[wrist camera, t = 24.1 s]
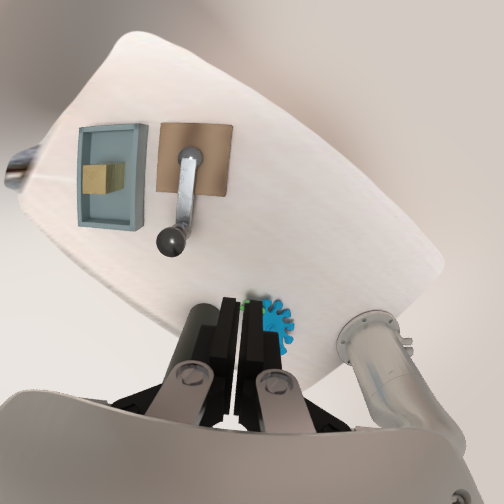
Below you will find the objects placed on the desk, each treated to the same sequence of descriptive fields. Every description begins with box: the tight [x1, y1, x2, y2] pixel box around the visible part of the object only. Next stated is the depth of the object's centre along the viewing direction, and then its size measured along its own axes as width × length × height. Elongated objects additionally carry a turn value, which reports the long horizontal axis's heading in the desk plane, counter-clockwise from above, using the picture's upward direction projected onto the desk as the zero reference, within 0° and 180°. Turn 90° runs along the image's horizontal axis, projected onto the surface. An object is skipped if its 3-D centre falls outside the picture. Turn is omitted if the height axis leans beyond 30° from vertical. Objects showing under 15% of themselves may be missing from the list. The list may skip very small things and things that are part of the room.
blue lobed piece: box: [240, 299, 294, 355], centre depth 46 cm, size 11×6×10 cm
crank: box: [156, 147, 203, 257], centre depth 35 cm, size 13×4×7 cm, turn 172°
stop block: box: [83, 163, 125, 194], centre depth 37 cm, size 4×4×6 cm
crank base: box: [156, 123, 233, 197], centre depth 38 cm, size 10×10×2 cm
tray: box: [77, 124, 148, 231], centre depth 39 cm, size 11×16×4 cm
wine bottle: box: [163, 304, 220, 383], centre depth 34 cm, size 6×6×30 cm
